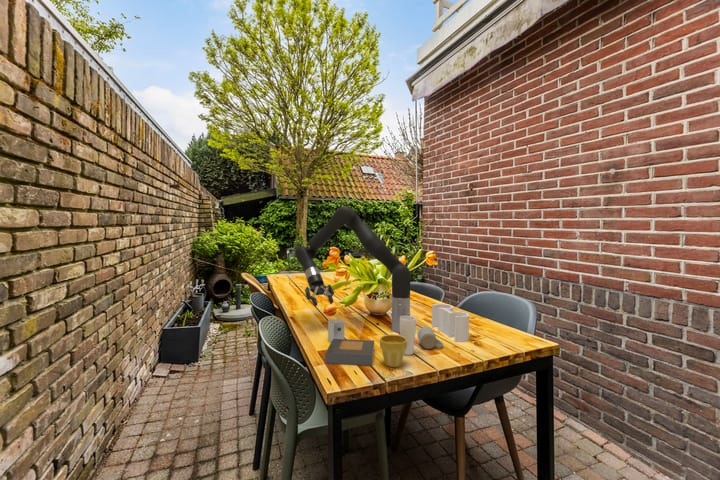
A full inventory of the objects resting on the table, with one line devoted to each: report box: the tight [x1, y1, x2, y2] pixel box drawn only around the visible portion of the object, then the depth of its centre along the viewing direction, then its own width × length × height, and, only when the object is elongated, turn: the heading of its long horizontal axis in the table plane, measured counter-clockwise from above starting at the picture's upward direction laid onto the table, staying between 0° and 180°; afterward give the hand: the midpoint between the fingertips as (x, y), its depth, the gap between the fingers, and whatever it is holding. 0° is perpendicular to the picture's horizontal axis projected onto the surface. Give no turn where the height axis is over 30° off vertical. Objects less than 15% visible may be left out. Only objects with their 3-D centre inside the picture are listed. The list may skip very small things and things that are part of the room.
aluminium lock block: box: [327, 318, 346, 343], centre depth 147 cm, size 6×6×10 cm
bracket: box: [431, 303, 470, 343], centre depth 159 cm, size 25×10×12 cm, turn 14°
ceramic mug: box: [417, 326, 444, 350], centre depth 141 cm, size 11×8×8 cm
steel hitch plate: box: [324, 338, 375, 367], centre depth 130 cm, size 18×16×4 cm
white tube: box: [399, 315, 417, 356], centre depth 133 cm, size 7×7×15 cm
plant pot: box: [379, 334, 407, 368], centre depth 123 cm, size 10×10×10 cm
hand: (324, 304), depth 156 cm, fingers open, 8 cm apart
